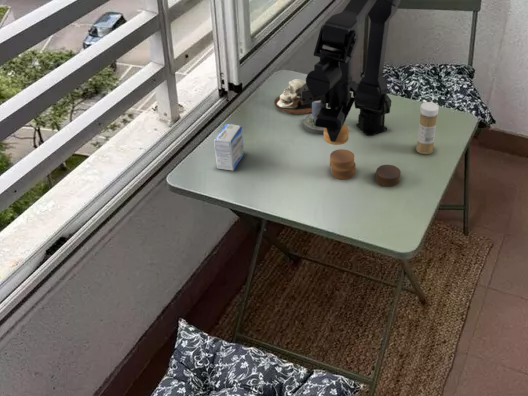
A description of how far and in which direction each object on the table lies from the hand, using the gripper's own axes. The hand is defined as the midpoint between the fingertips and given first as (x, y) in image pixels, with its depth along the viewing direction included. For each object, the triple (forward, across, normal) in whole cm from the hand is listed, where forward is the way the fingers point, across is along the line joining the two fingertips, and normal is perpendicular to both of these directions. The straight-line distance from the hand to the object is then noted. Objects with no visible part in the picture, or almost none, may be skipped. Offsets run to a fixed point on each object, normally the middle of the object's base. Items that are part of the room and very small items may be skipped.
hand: (336, 134), depth 163 cm
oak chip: (+1, 0, 0) cm, 1 cm away
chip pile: (+11, 0, +2) cm, 11 cm away
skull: (+11, -29, -19) cm, 36 cm away
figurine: (+11, -20, -10) cm, 25 cm away
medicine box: (+11, +3, -26) cm, 29 cm away
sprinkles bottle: (+11, -16, +20) cm, 28 cm away
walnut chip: (+11, 0, +13) cm, 17 cm away
